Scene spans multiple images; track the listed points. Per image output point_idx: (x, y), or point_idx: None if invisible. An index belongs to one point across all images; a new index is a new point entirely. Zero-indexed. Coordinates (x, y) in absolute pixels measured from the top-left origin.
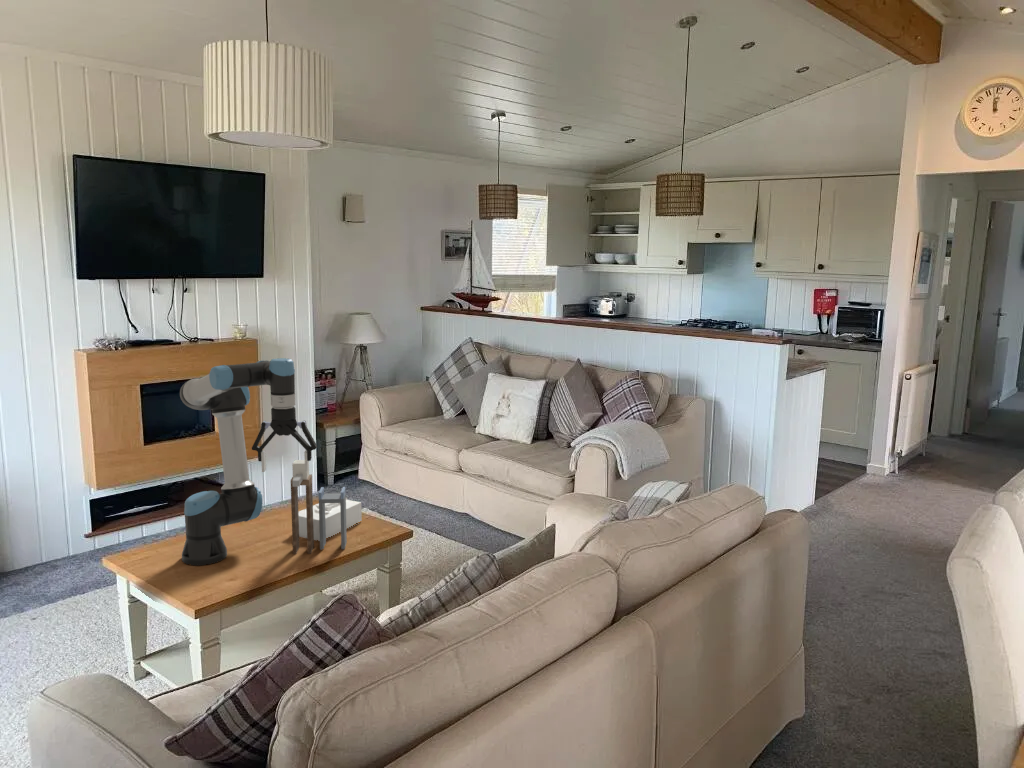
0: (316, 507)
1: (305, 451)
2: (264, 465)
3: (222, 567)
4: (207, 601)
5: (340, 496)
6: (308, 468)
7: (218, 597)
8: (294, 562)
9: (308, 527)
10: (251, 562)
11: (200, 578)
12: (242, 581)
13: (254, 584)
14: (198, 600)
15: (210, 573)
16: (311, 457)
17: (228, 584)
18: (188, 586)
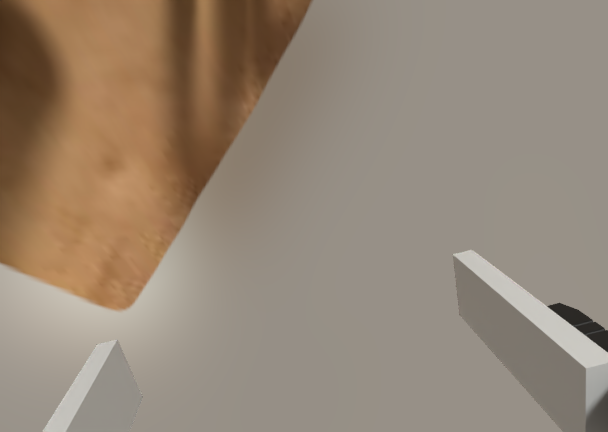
0: None
1: (594, 429)
2: (120, 425)
3: (28, 89)
4: (129, 285)
5: None
6: (475, 254)
7: (142, 263)
8: (223, 17)
9: None
10: (92, 36)
11: (20, 172)
12: (146, 171)
13: (187, 183)
14: (105, 285)
15: (23, 136)
16: (585, 318)
17: (120, 194)
18: (25, 223)
